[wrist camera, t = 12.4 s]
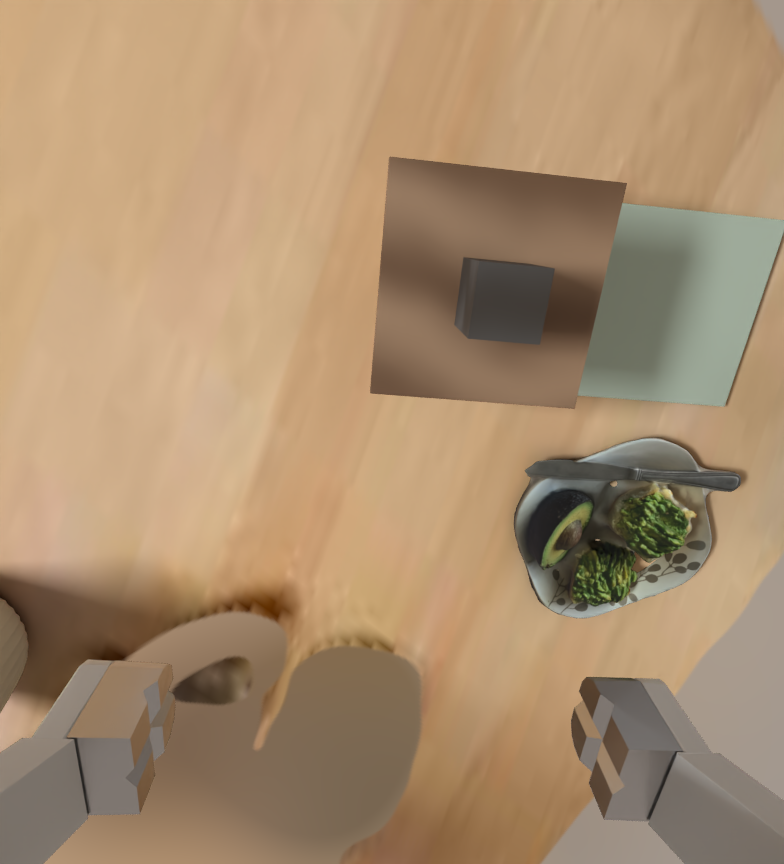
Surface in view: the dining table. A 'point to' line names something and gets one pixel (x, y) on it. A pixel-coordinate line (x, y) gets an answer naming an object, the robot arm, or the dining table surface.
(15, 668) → the canister
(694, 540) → the salad plate
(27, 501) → the dining table surface
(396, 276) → the walnut lid
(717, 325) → the green mat
